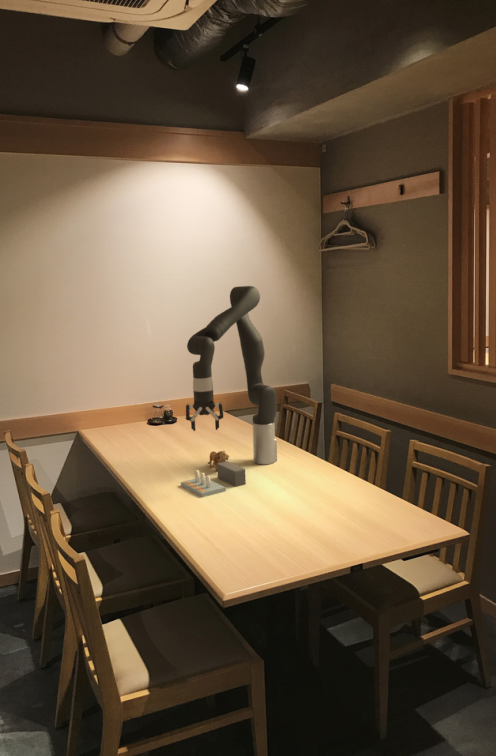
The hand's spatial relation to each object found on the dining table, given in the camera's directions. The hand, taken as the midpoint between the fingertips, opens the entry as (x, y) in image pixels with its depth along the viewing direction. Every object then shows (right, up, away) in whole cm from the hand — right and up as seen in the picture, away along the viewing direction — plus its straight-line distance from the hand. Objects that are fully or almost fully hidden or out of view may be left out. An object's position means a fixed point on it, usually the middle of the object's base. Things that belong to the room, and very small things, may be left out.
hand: (205, 429), depth 248 cm
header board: (-1, -22, -3) cm, 22 cm away
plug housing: (+10, -20, +4) cm, 23 cm away
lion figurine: (+4, -18, +20) cm, 27 cm away
